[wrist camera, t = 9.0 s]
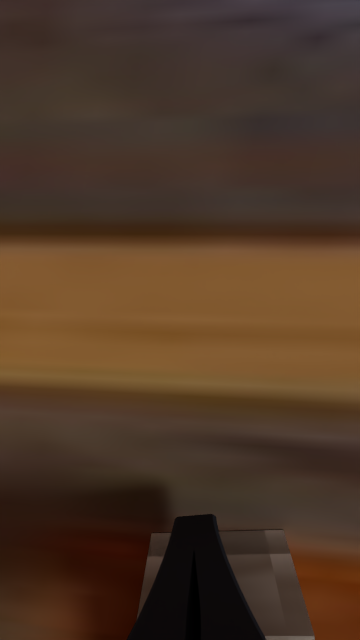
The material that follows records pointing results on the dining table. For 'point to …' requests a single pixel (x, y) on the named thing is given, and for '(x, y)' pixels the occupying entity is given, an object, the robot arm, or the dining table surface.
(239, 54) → the dining table surface
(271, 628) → the tray
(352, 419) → the dining table surface
